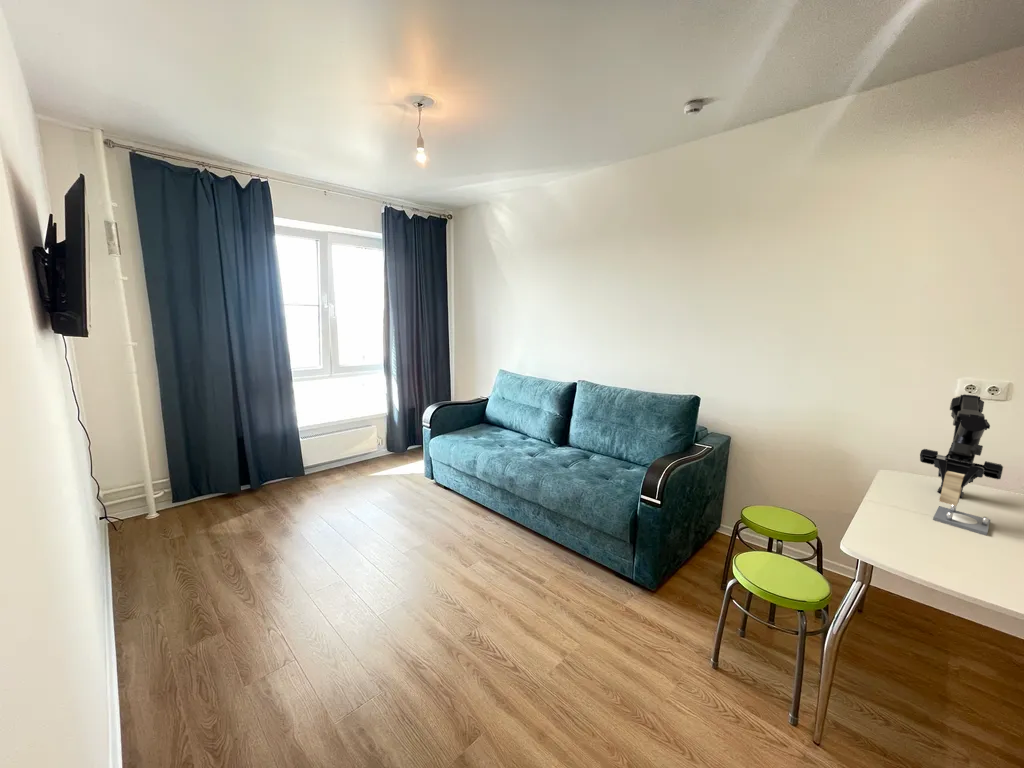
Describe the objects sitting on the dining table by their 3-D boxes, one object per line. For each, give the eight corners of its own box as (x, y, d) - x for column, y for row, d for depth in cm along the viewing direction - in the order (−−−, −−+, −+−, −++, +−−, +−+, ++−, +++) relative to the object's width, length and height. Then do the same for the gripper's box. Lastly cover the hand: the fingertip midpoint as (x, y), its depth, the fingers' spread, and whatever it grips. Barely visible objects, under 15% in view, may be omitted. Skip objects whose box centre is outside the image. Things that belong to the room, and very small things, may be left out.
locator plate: (938, 508, 145) (940, 499, 144) (989, 522, 136) (992, 512, 135) (932, 519, 138) (934, 510, 137) (986, 535, 128) (989, 525, 128)
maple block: (941, 497, 141) (947, 470, 139) (958, 502, 138) (964, 474, 135) (939, 501, 138) (945, 473, 136) (956, 505, 135) (962, 477, 133)
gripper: (926, 426, 143) (913, 464, 139) (1009, 441, 128) (997, 483, 124) (927, 442, 149) (914, 479, 145) (1006, 458, 134) (994, 499, 130)
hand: (952, 484), depth 136 cm, fingers closed on maple block, 4 cm apart
